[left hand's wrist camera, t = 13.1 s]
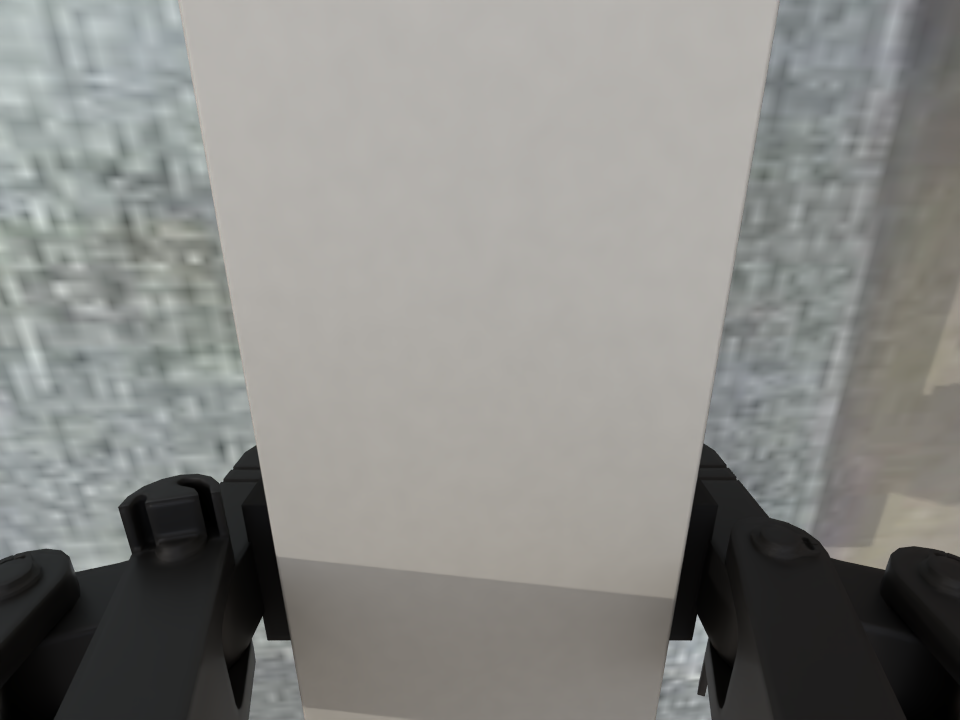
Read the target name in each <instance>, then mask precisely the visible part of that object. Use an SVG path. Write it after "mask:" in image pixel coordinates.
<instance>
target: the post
mask: <svg viewBox="0 0 960 720" xmlns="http://www.w3.org/2000/svg"><path fill="white" fill-rule="evenodd" d="M178 2H179V8H180V14H181V19H182V25H183V31H184V36H185V42H186V48H187V53H188V59H189V65H190V70H191V76H192V82H193V87H194V93H195V99H196V104H197V110H198V116H199V121H200V127H201V133H202V139H203V144H204V150H205V156H206V161H207V167H208V173H209V178H210V184H211V190H212V195H213V201H214V207H215V212H216V218H217V224H218V229H219V235H220V241H221V246H222V252H223V258H224V263H225V269H226V275H227V280H228V286H229V292H230V297H231V303H232V309H233V315H234V320H235V326H236V332H237V337H238V343H239V349H240V354H241V360H242V366H243V371H244V377H245V383H246V388H247V394H248V400H249V405H250V411H251V417H252V422H253V428H254V434H255V439H256V445H257V451H258V456H259V462H260V468H261V473H262V479H263V485H264V491H265V496H266V502H267V508H268V513H269V519H270V525H271V530H272V536H273V542H274V547H275V553H276V559H277V564H278V570H279V576H280V581H281V587H282V593H283V598H284V604H285V610H286V615H287V621H288V627H289V632H290V638H291V644H292V649H293V655H294V661H295V667H296V672H297V678H298V684H299V689H300V695H301V701H302V706H303V712H304V718H305V720H655V719H656V713H657V707H658V702H659V696H660V690H661V684H662V678H663V673H664V667H665V661H666V655H667V650H668V644H669V638H670V632H671V626H672V621H673V615H674V609H675V603H676V598H677V592H678V586H679V580H680V574H681V569H682V563H683V557H684V551H685V546H686V540H687V534H688V528H689V522H690V517H691V511H692V505H693V499H694V494H695V488H696V482H697V476H698V470H699V465H700V459H701V453H702V447H703V442H704V436H705V430H706V424H707V418H708V413H709V407H710V401H711V395H712V390H713V384H714V378H715V372H716V367H717V361H718V355H719V349H720V343H721V338H722V332H723V326H724V320H725V315H726V309H727V303H728V297H729V291H730V286H731V280H732V274H733V268H734V263H735V257H736V251H737V245H738V239H739V234H740V228H741V222H742V216H743V211H744V205H745V199H746V193H747V187H748V182H749V176H750V170H751V164H752V159H753V153H754V147H755V141H756V135H757V130H758V124H759V118H760V112H761V107H762V101H763V95H764V89H765V83H766V78H767V72H768V66H769V60H770V55H771V49H772V43H773V37H774V31H775V26H776V20H777V14H778V8H779V3H780V0H178Z"/></svg>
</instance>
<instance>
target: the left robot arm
mask: <svg viewBox="0 0 960 720" xmlns="http://www.w3.org/2000/svg"><path fill="white" fill-rule="evenodd" d="M118 508H119V512H120V515H121V518H122V522H123V525H124V528H125V532H126V535H127V538H128V542H129V545H130V548H131V552H132V555H131V557H130V559H129V560H128V561H125V562H121V563H117V564H112V565H108V566H103V567H98V568H93V569H89V570H84V571H79V572H75V571H74V568H73V566H72V563H71V560H70V557H69V556H68V555H66V554H65V553H64V552H63V551H61V550H53V549H41V550H34V551H27V552H23V553H19V554H16V555H14V556H13V555H12V556H9V557H7V558H4V559H1V560H0V720H248V719H249V711H250V702H251V694H252V686H253V678H254V670H255V662H256V661H255V653H254V647H253V642H252V637H253V635H254V633H255V631H256V629H257V626H258V624H259V622H260V620H261V618H262V616H263V619H264V624H265V630H266V635H267V640H291V638H290V632H289V627H288V621H287V615H286V610H285V604H284V598H283V593H282V587H281V581H280V576H279V570H278V564H277V559H276V553H275V547H274V542H273V536H272V530H271V525H270V519H269V513H268V508H267V502H266V496H265V491H264V485H263V479H262V473H261V468H260V462H259V456H258V451H257V445H256V446H254V447H253V448H251V449H250V450H248V451H247V452H245V453H244V454H243V456H242V457H241V458H240V459H239V461H238V462H237V463H236V464H235V466H234V467H233V470H231V471H230V472H229V473H228V474H227V475H226V477H225V478H224V481H223V482H221V483H220V484H219V483H218V482H217V481H216V480H215V479H213V478H212V477H210V476H205V475H200V474H187V475H178V476H173V477H169V478H165V479H161V480H159V481H156V482H154V483H151V484H149V485H146V486H144V487H142V488H141V489H139V490H137V491H136V492H134V493H133V494H131V495H130V496H128V497H127V498H126V499H125V500H124V501H123V503H122V504H121V505H120V506H119V507H118ZM697 614H698V616H699V618H700V620H701V623H702V625H703V627H704V629H705V631H706V633H707V635H708V637H709V638H708V642H707V647H706V652H705V657H704V661H703V666H702V671H701V676H700V680H699V686H698V695H701V696H705V693H706V688H707V685H708V693H709V701H710V709H711V717H712V720H960V557H958V556H955V555H953V554H950V553H945V552H943V551H939V550H935V549H930V548H923V547H916V546H912V547H904V548H899V549H897V550H896V551H895V552H893V553H892V554H891V555H890V558H889V561H888V564H887V567H886V570H882V569H878V568H873V567H868V566H863V565H859V564H854V563H849V562H845V561H840V560H836V559H833V558H830V556H829V554H828V552H827V551H826V550H825V549H824V547H823V546H822V545H821V543H820V542H819V541H818V540H816V539H815V538H814V537H812V536H811V535H810V534H808V533H807V532H806V531H804V530H802V529H800V528H798V527H796V526H793V525H791V524H789V523H787V522H783V521H780V520H776V519H772V518H769V517H768V515H767V514H766V513H765V512H764V510H763V509H762V508H761V507H760V506H759V504H758V503H757V502H756V501H755V499H754V498H753V497H752V496H751V495H750V493H749V492H748V491H747V490H746V488H745V487H744V486H743V485H742V484H741V482H740V481H739V480H736V476H735V475H734V474H733V472H732V471H731V470H730V469H729V468H727V467H726V464H725V463H724V461H723V460H722V459H721V458H720V457H719V455H718V454H717V453H716V452H715V451H714V450H713V449H711V448H710V447H708V446H707V445H705V444H703V447H702V453H701V459H700V465H699V470H698V476H697V482H696V488H695V494H694V499H693V505H692V511H691V517H690V522H689V528H688V534H687V540H686V546H685V551H684V557H683V563H682V569H681V574H680V580H679V586H678V592H677V598H676V603H675V609H674V615H673V621H672V626H671V632H670V638H669V640H692V638H693V633H694V627H695V622H696V617H697Z"/></svg>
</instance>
